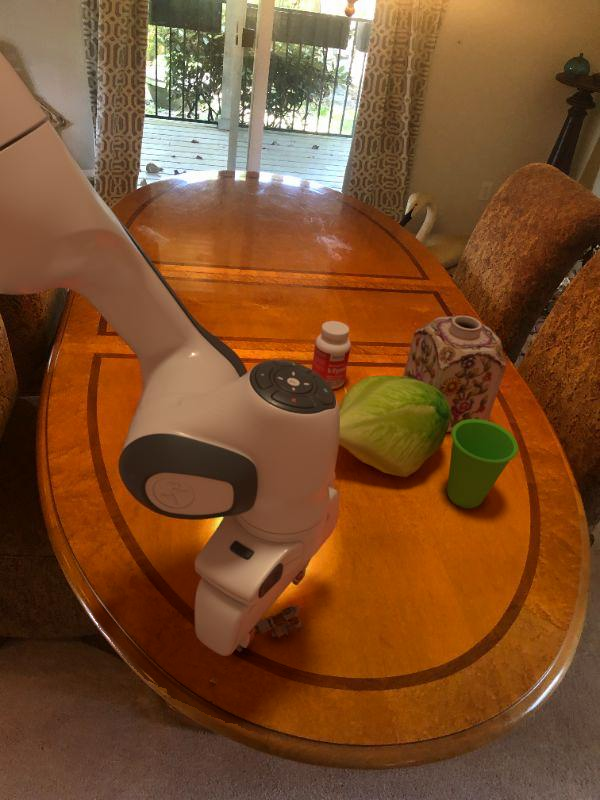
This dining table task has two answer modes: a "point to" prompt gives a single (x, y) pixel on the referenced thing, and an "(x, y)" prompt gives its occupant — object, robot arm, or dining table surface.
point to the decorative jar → (459, 364)
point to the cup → (477, 460)
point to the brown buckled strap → (284, 616)
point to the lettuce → (393, 422)
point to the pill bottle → (332, 353)
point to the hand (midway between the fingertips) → (270, 607)
